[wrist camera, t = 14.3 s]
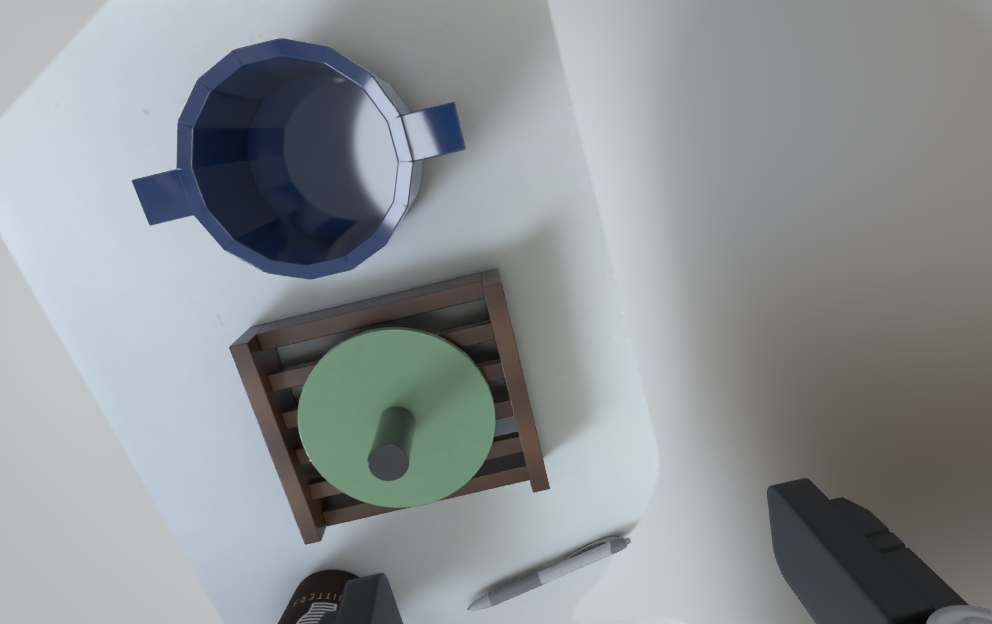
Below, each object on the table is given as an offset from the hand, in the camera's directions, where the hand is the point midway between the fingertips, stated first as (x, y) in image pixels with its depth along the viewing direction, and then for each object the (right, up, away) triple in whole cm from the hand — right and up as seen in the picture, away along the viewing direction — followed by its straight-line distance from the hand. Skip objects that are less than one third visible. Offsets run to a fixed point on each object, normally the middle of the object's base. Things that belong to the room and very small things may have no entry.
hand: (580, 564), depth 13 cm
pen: (+2, -15, +36) cm, 39 cm away
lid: (-8, -2, +28) cm, 29 cm away
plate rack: (-8, -1, +31) cm, 32 cm away
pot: (-12, +15, +26) cm, 33 cm away
